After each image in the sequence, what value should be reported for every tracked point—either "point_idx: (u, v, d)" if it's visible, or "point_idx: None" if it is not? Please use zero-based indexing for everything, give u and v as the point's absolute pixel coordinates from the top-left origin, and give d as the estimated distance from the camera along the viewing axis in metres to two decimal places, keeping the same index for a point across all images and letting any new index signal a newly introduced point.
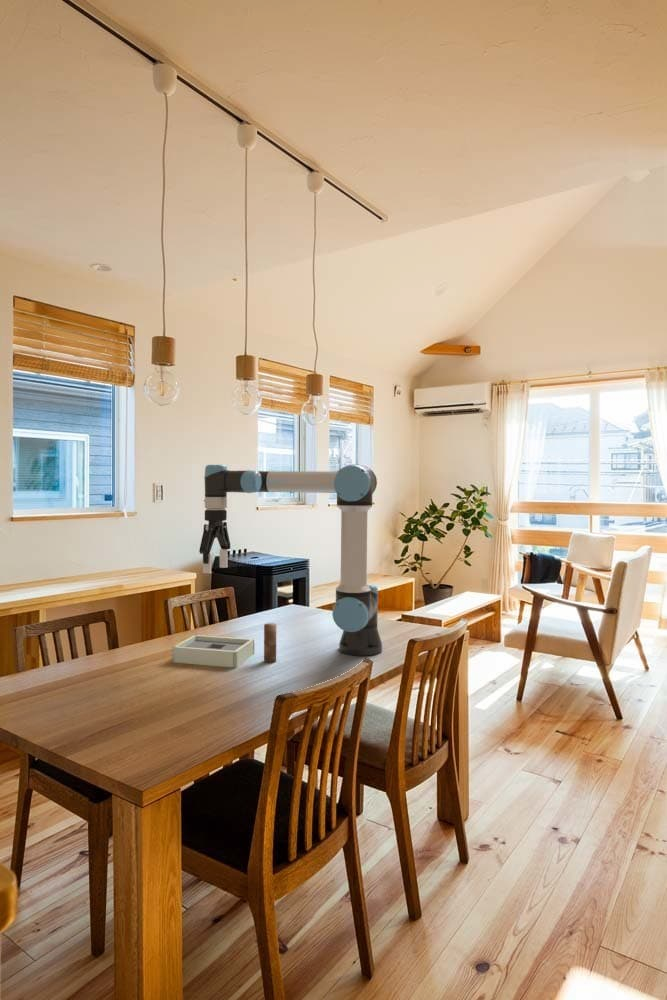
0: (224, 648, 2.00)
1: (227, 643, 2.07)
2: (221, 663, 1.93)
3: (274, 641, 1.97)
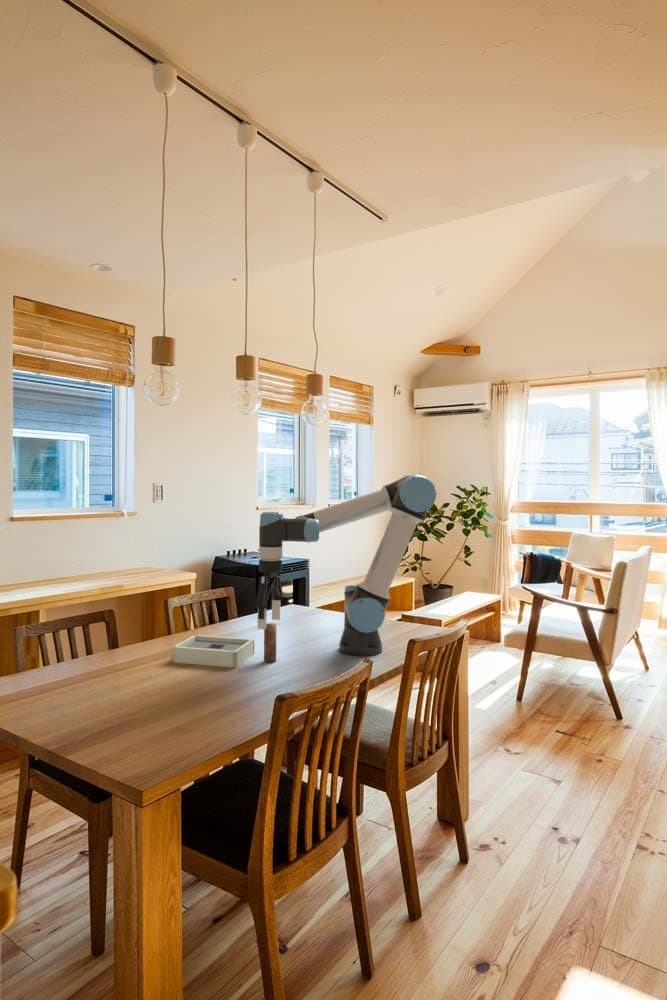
0: (224, 648, 2.00)
1: (227, 643, 2.07)
2: (221, 663, 1.93)
3: (274, 641, 1.97)
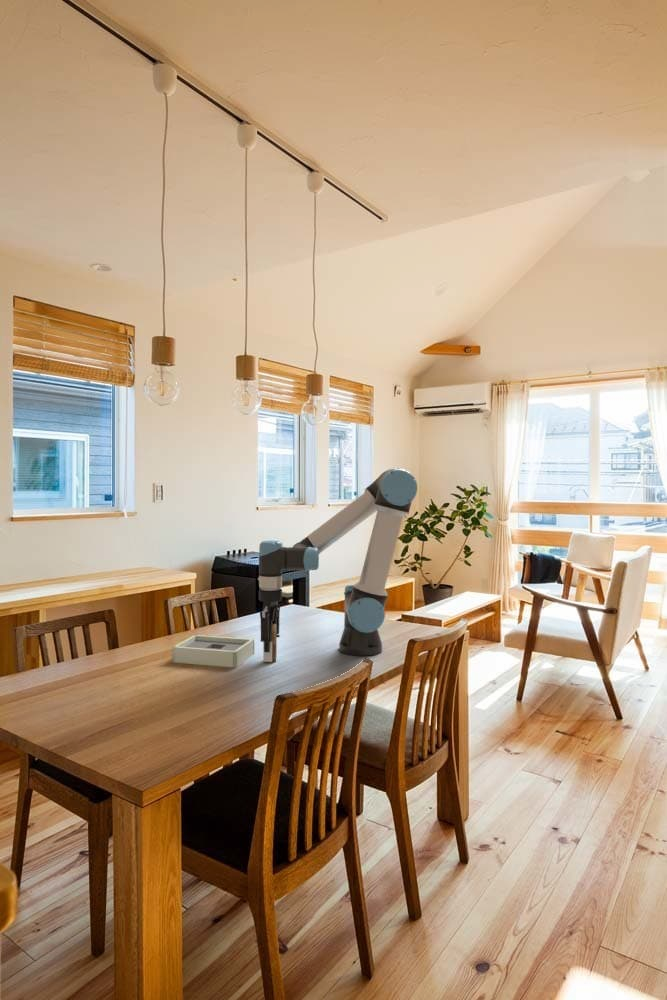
0: (224, 648, 2.00)
1: (227, 643, 2.07)
2: (221, 663, 1.93)
3: (274, 641, 1.97)
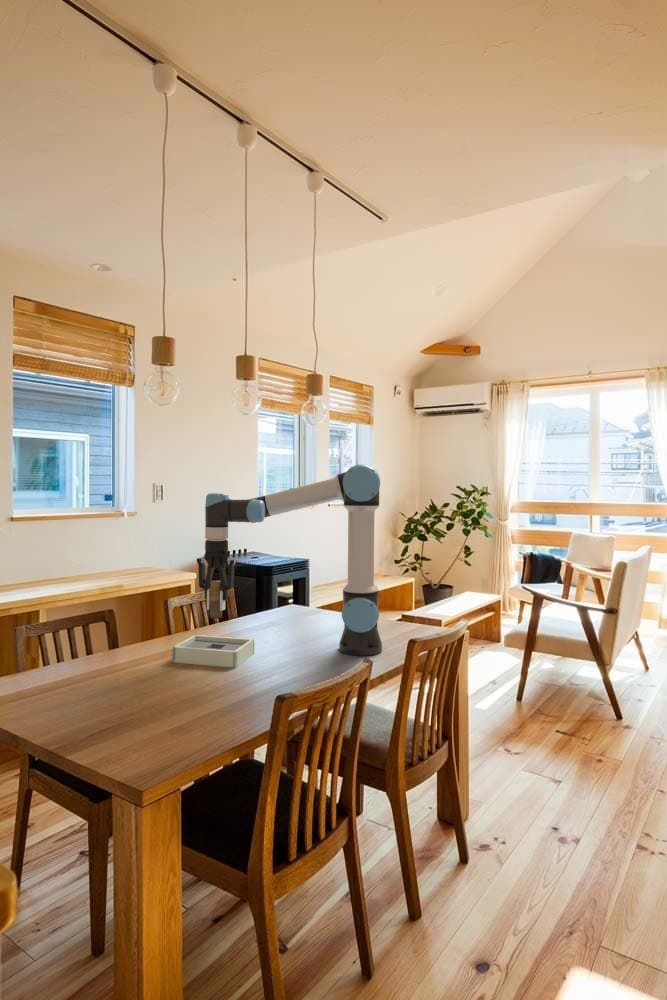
0: (224, 648, 2.00)
1: (227, 643, 2.07)
2: (221, 663, 1.93)
3: (211, 597, 2.01)
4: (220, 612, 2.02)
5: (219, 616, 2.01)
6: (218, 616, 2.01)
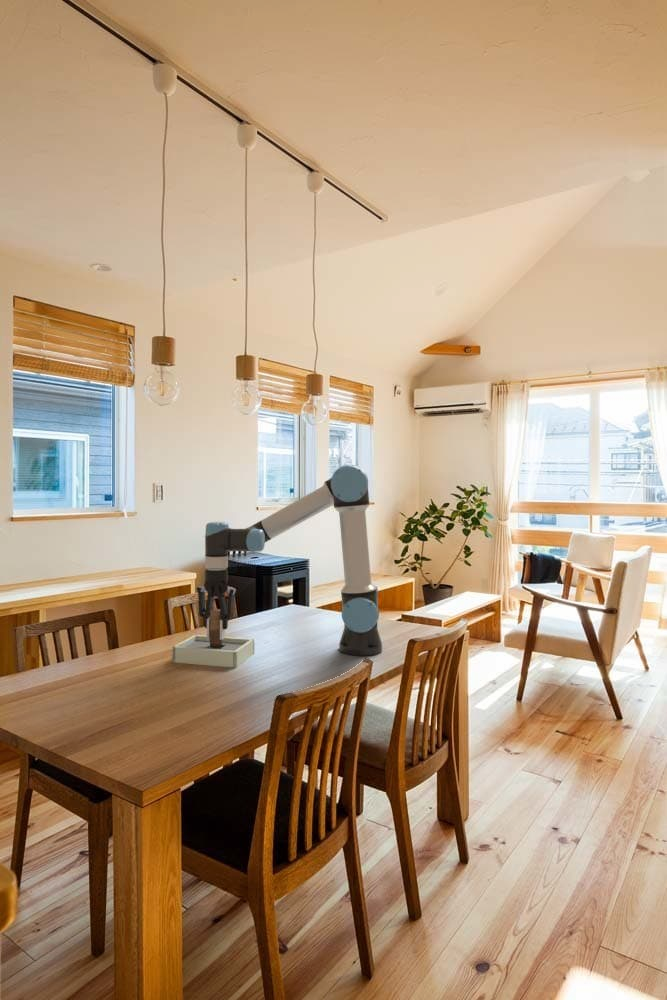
0: (224, 648, 2.00)
1: (227, 643, 2.07)
2: (221, 663, 1.93)
3: (211, 626, 2.01)
4: (220, 641, 2.02)
5: (219, 645, 2.02)
6: (218, 645, 2.01)
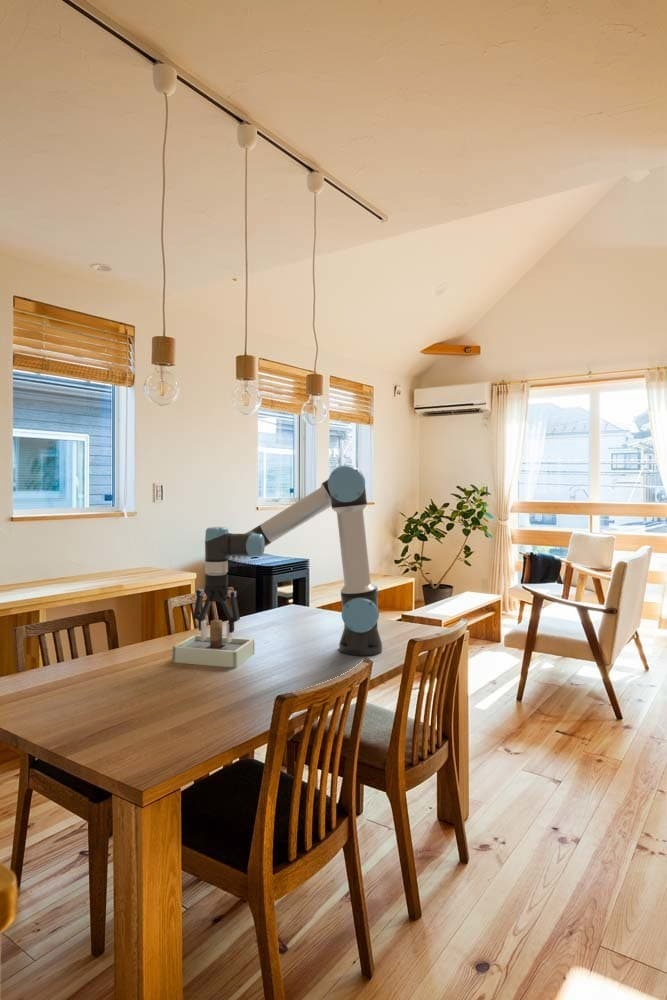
0: (224, 648, 2.00)
1: (227, 643, 2.07)
2: (221, 663, 1.93)
3: (211, 637, 2.01)
4: None
5: None
6: None
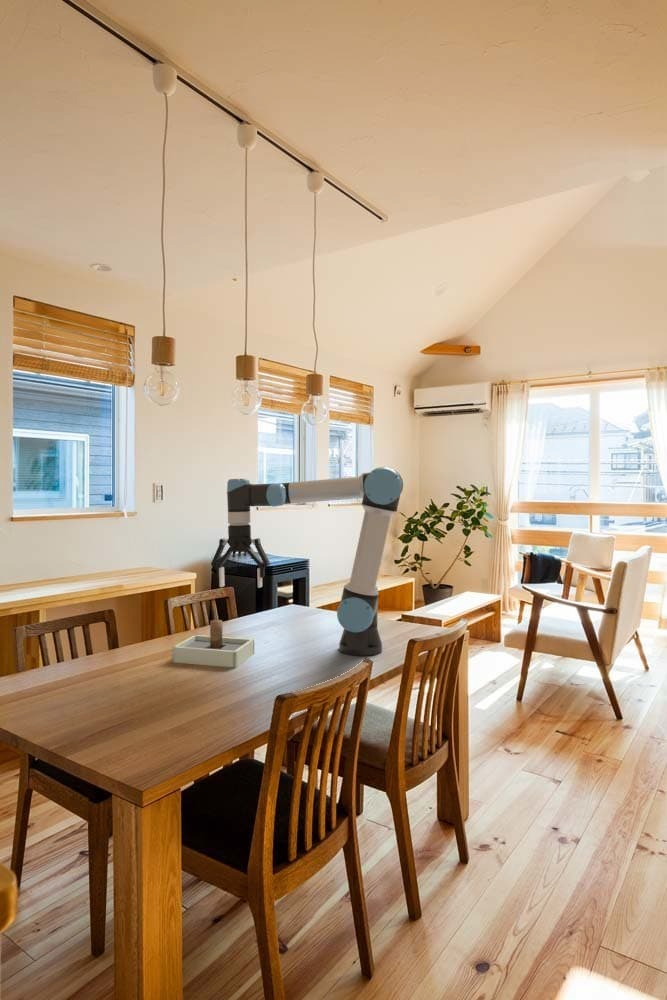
0: (224, 648, 2.00)
1: (227, 643, 2.07)
2: (221, 663, 1.93)
3: (211, 637, 2.01)
4: None
5: None
6: None
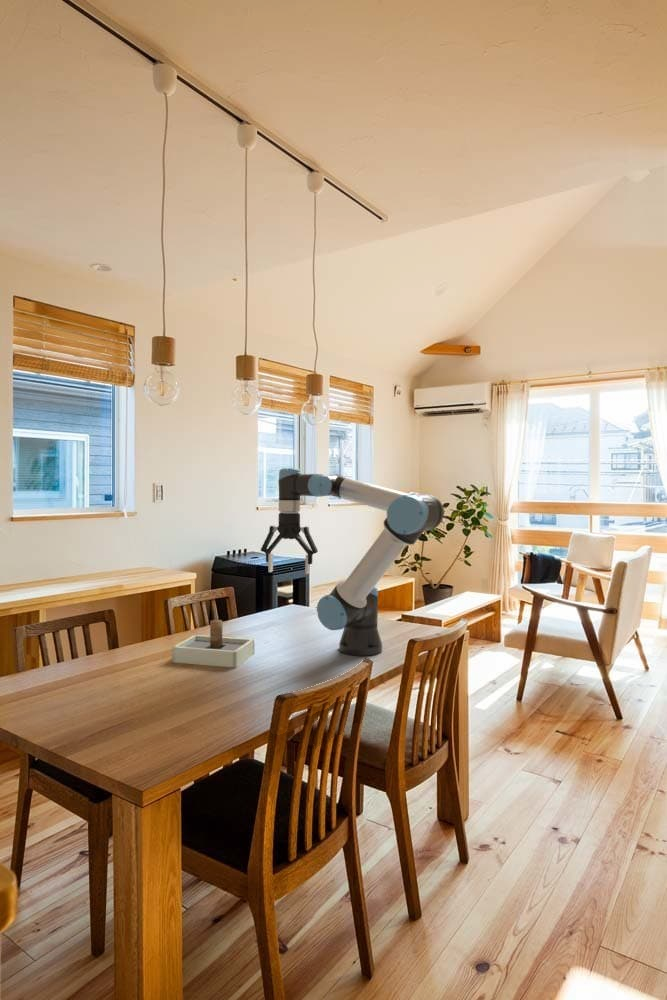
0: (224, 648, 2.00)
1: (227, 643, 2.07)
2: (221, 663, 1.93)
3: (211, 637, 2.01)
4: None
5: None
6: None
